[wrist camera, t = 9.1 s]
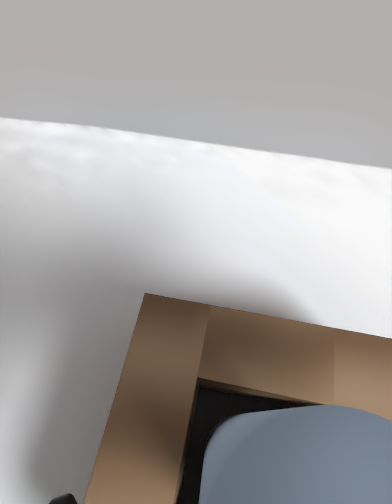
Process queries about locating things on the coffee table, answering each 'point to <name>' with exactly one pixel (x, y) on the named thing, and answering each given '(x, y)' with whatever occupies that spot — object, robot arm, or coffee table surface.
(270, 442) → the dowel
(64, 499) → the robot arm
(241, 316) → the socket
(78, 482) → the coffee table surface
